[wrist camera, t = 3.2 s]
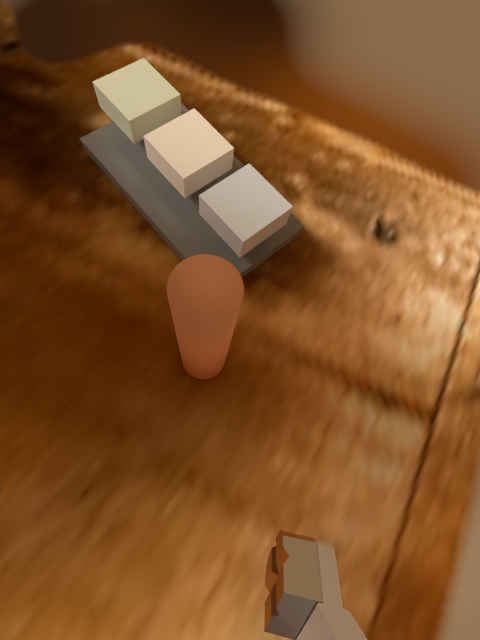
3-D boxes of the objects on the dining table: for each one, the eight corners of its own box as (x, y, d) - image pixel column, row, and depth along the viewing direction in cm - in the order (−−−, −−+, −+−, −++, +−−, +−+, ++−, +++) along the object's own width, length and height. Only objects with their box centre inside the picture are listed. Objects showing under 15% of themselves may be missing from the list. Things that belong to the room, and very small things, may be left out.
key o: (99, 106, 28) (92, 81, 26) (147, 83, 29) (143, 58, 27) (134, 143, 27) (129, 121, 25) (181, 117, 28) (180, 94, 26)
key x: (147, 157, 27) (143, 135, 25) (194, 131, 28) (194, 108, 26) (184, 198, 26) (183, 178, 24) (231, 168, 27) (234, 148, 25)
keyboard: (84, 150, 30) (79, 138, 29) (171, 104, 33) (170, 92, 32) (214, 298, 27) (215, 292, 26) (300, 234, 30) (304, 226, 28)
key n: (199, 213, 25) (198, 195, 24) (245, 183, 27) (249, 163, 25) (239, 257, 25) (243, 242, 23) (286, 224, 26) (293, 206, 24)
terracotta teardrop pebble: (173, 355, 25) (150, 282, 14) (206, 329, 26) (211, 241, 15) (200, 388, 25) (199, 340, 13) (233, 361, 26) (259, 294, 14)
